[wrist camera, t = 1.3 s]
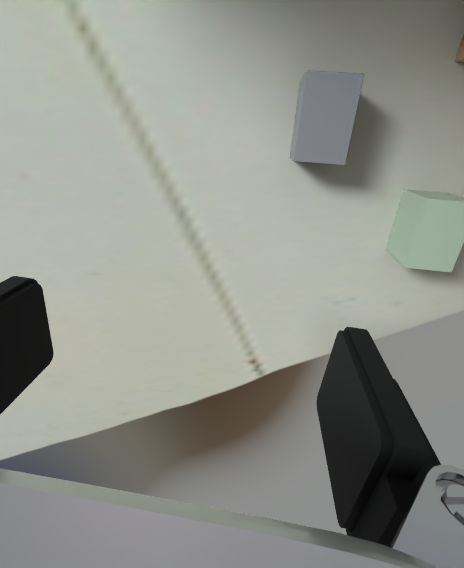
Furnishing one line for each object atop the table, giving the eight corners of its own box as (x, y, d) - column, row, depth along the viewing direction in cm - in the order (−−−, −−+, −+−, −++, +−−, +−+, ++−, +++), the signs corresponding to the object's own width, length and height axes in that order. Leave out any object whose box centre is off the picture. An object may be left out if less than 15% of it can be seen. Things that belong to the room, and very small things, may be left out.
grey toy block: (299, 81, 26) (306, 70, 22) (347, 84, 26) (364, 73, 22) (289, 157, 29) (293, 161, 24) (332, 160, 29) (344, 165, 24)
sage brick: (403, 189, 29) (428, 198, 25) (447, 192, 29) (480, 203, 24) (385, 249, 32) (404, 267, 27) (425, 253, 31) (451, 272, 27)
